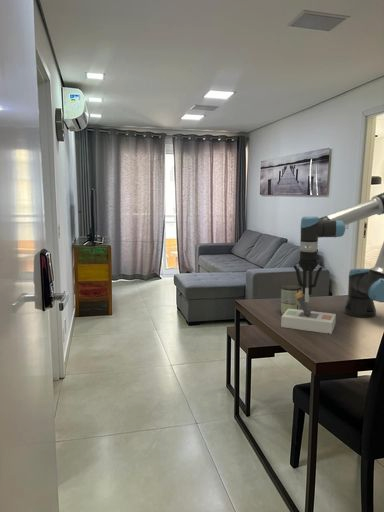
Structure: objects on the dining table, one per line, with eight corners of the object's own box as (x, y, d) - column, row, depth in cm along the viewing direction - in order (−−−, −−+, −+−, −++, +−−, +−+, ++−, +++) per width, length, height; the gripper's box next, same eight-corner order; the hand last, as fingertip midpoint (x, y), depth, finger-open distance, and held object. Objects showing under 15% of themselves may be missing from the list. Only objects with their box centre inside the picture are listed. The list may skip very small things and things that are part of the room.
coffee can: (279, 309, 204) (279, 283, 201) (299, 309, 203) (299, 283, 200) (281, 315, 193) (282, 288, 191) (302, 315, 192) (303, 288, 190)
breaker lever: (312, 311, 179) (302, 290, 179) (310, 315, 174) (300, 293, 174) (307, 313, 180) (297, 292, 181) (305, 316, 175) (295, 295, 176)
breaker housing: (335, 324, 179) (335, 313, 178) (331, 333, 167) (331, 322, 166) (288, 318, 189) (288, 308, 188) (281, 326, 176) (281, 316, 176)
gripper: (292, 251, 172) (290, 301, 176) (322, 252, 167) (320, 305, 170) (295, 249, 179) (294, 298, 182) (324, 250, 173) (322, 301, 177)
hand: (306, 301), depth 176 cm, fingers closed
